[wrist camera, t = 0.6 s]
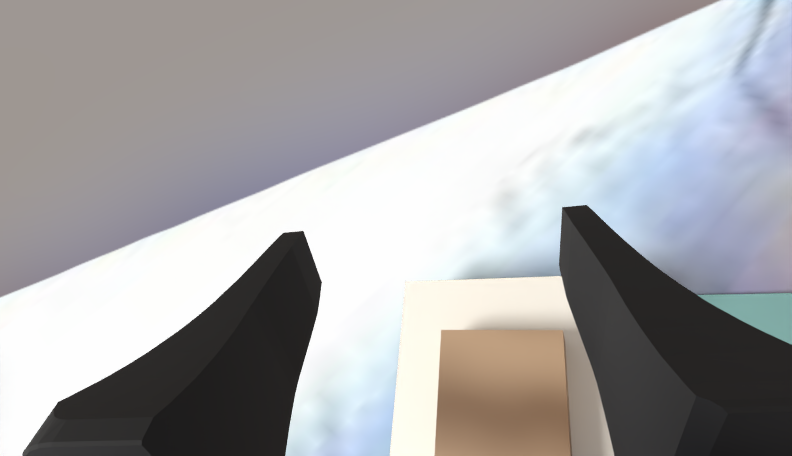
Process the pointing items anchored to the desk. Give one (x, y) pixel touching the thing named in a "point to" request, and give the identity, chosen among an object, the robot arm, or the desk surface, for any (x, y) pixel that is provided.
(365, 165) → the desk surface
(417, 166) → the desk surface
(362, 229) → the desk surface
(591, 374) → the cream white board
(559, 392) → the block
